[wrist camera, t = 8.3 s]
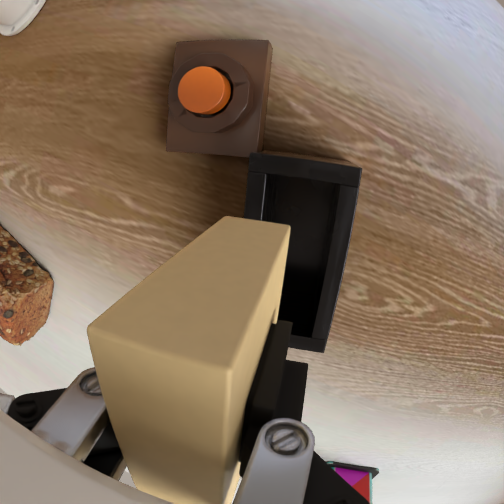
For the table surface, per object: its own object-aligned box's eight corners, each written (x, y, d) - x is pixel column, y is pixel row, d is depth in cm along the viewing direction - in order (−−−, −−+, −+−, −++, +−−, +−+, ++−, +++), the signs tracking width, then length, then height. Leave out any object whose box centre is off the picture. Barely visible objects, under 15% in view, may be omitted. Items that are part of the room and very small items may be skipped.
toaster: (269, 150, 26) (249, 152, 19) (350, 161, 25) (362, 168, 18) (254, 292, 31) (233, 337, 24) (324, 304, 30) (323, 353, 22)
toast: (224, 214, 12) (83, 326, 4) (291, 224, 11) (231, 370, 4) (215, 377, 15) (147, 514, 7) (265, 388, 14) (219, 537, 7)
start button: (189, 71, 22) (180, 66, 20) (233, 70, 21) (226, 65, 19) (184, 114, 23) (175, 112, 21) (228, 115, 22) (221, 113, 21)
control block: (186, 47, 24) (166, 36, 20) (272, 47, 23) (265, 32, 19) (176, 150, 28) (155, 152, 24) (261, 157, 26) (252, 159, 23)
